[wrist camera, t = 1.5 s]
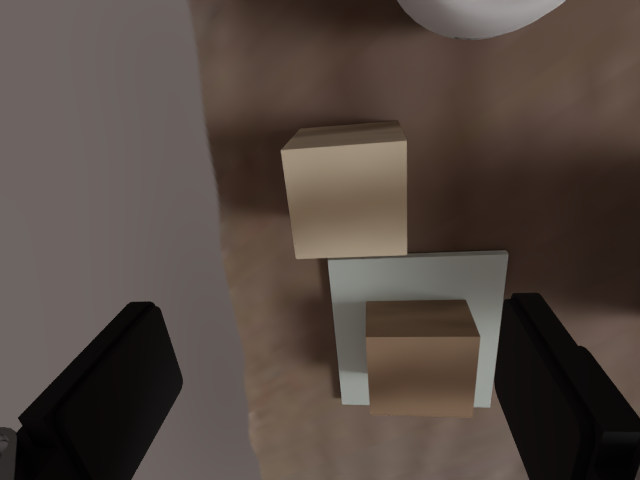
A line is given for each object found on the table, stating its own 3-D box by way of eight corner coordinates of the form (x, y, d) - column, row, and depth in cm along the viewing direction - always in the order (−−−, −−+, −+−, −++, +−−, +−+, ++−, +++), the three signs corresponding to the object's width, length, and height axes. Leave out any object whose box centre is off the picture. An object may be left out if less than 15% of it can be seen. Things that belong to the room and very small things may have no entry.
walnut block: (365, 301, 28) (365, 337, 25) (465, 299, 27) (480, 336, 24) (369, 373, 31) (370, 415, 28) (460, 374, 30) (472, 417, 27)
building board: (328, 256, 28) (327, 260, 27) (505, 250, 26) (508, 254, 25) (342, 398, 34) (342, 404, 33) (487, 401, 32) (489, 407, 31)
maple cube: (299, 128, 24) (280, 150, 19) (397, 120, 23) (406, 140, 18) (310, 217, 27) (295, 258, 21) (399, 213, 26) (407, 255, 21)
